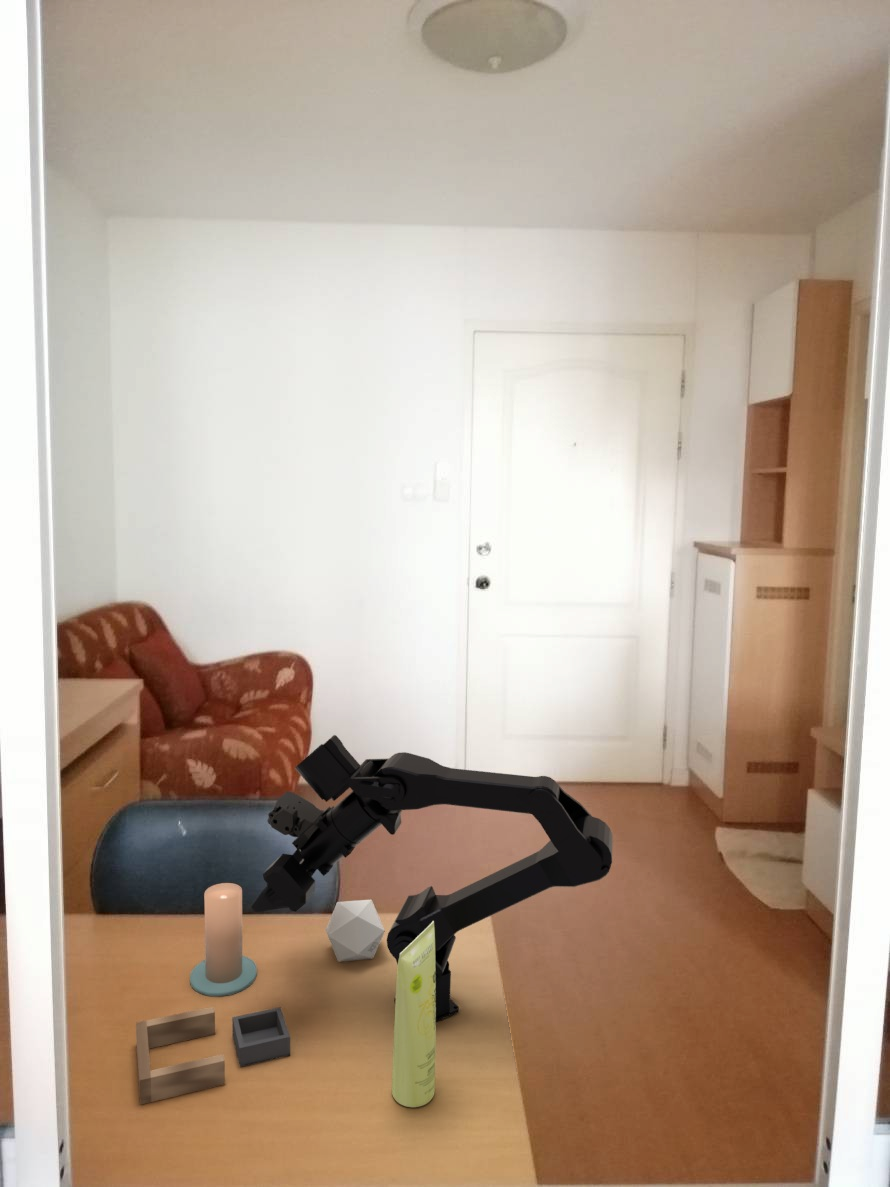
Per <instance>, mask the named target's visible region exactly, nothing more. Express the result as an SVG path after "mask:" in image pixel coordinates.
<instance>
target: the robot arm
mask: <svg viewBox="0 0 890 1187" xmlns="http://www.w3.org/2000/svg"><path fill="white" fill-rule="evenodd" d="M294 770H295V771H297V773H298V774H299V775H300V776H301V777H302V778H303V780H304V781H305V782H306V783H307V785H309V787H310V788H311V789H312V790H313V791H314V792H315V794H316V795H317V796H318V798H320V799H321V800H322V801H324V802H326V803H327V802H329V801H330V800H331V799H332V801H333V802H334V801H335V802H336V800H337V799H338V798H340V797H341V796H342V795H343V794H345V792H346V791H347V790H349V789H351V790H352V791H351V792H350V793H348V795H346V796H345V797H344V798H343V799H342V800H340V801H339V802H338V803H337V804H336V805H335V806H334V805H333V806H331V807H330V806H328V807H326V808H325V809H320V808H318V807H316V806H315V804H313V803H312V802H310V801H308V800H306V799H305V798H303V797H301V796H300V795H298V794H296V793H294V792H292V791H285V792H284V793H283V794H282V795H281V796H280V797H279V798H278V799H277V800H276V802H275V804H274V806H273V808H272V810H270V811H269V813H268V817H267V820H266V822H267V824H269V826H270V828H272V829H273V830H275V831H276V832H279V833H280V834H282V835H284V836H287V835H289V836H291V837H294V838H295V839H294V840H293V841H291V844H292V845H293V847H295V849H296V850H295V851H294V853H293V854H288V853H282V854H281V855H279V857H277V858H276V859H275V860H274V861H273V862H272V863H271V864H270V865H269V866H268V867H267V868H266V869H265V871H264V872H263V873H262V877H263V880H264V881H265V883H266V885H265V887H264V888H263V889H262V891H261V892H260V894H259V895H258V896H257V897H256V899H255V900H254V901H253V903H252V904H251V906H250V908H251V909H252V911H253V912H254V913H256V914H257V913H262V912H268V911H275V910H280V909H289V910H290V911H291V912H292V911H293V912H297V911H298V910H300V909H301V908H302V907H303V906H304V905H305V904H307V903H308V901H309V900H310V898H311V897H312V895H313V894H314V893H315V890H316V879H315V878H313V877H312V876H313V875H314V874H315V872H316V871H318V872H319V873H320V874H321V875H322V877H324V876H325V875H327V874H328V873H330V871H331V869H332V868H333V867H334V866H335V864H336V863H337V862H338V861H340V860H341V859H342V858H343V857H344V858H347V857H348V856H349V855H351V853H353V851H354V850H355V848H356V847H357V846H358V845H359V844H360V843H361V842H363V841H364V840H365V839H366V838H367V837H368V836H369V835H371V834H372V833H373V832H374V831H375V830H377V829H378V828H379V827H380V826H383V827H384V828H385V830H386V831H387V833H389V834H390V835H391V836H393V835H395V834H396V833H397V831H398V829H399V828H400V826H401V825H402V812H403V811H409V810H410V811H411V810H421V809H424V808H428V807H433V806H439V805H441V806H442V805H447V806H449V805H450V806H454V807H455V806H457V807H463V808H464V807H465V808H475V809H485V810H491V811H493V810H494V811H500V812H509V813H510V812H511V813H516V814H517V813H519V814H527V815H532V816H533V817H534V819H535V820H536V821H537V822H538V823H539V824H540V826H541V828H542V829H543V831H544V832H545V834H546V836H547V837H548V838H549V841H548V842H547V843H546V844H545V845H544V846H543V847H542V848H541V849H539V850H538V851H536V852H533V853H532V854H530V855H528V856H526V857H523V858H522V859H520V860H518V861H516V862H513V863H511V864H510V865H508V866H506V867H503V868H501V869H499V870H497V871H495V872H493V873H491V874H489V875H486V876H485V877H483V878H481V879H479V880H477V881H474V882H472V883H470V884H468V885H467V886H464V887H462V888H460V889H457V891H454V892H452V893H450V894H446V895H445V894H436V892H435V889H434V887H433V886H432V885H430V886H428V887H426V889H424V890H423V891H422V892H420V893H417V894H413V895H408V896H407V898H406V900H405V902H404V904H403V905H402V907H401V908H400V910H399V912H398V914H397V916H396V918H395V920H394V922H393V923H392V926H391V927H390V929H389V931H388V933H387V938H386V947H387V949H388V951H389V953H390V954H391V956H392V957H393V959H395V961H396V964H397V965H398V960H399V954H400V953H401V952H402V951H403V950H404V949H405V948H406V947H407V946H408V945H409V944H411V943H412V942H413V941H414V940H415V939H416V938H417V937H418V936H419V935H420V934H421V933H422V932H423V931H424V930H425V929H426V928H427V927H428V926H429V925H430V924H431V923H432V921H434V929H435V967H436V1022H438V1021H441V1020H443V1019H445V1018H447V1017H448V1018H449V1017H450V1016H453V1015H455V1014H457V1013H459V1011H460V1007H459V1005H458V1004H457V1003H455V1002H454V1000H452V999H451V983H452V982H451V979H452V975H451V974H452V971H451V970H450V963H449V958H450V955H451V952H452V950H453V947H454V944H455V942H456V939H457V937H456V934H457V933H458V932H459V931H462V930H464V929H466V928H468V927H470V926H472V925H474V924H477V923H479V922H480V921H483V920H485V919H487V918H489V917H492V916H493V915H495V914H498V913H500V912H502V911H505V910H506V909H508V908H510V907H512V906H514V905H516V904H518V903H521V902H523V901H525V900H528V899H529V898H531V897H533V896H535V895H537V894H540V893H542V892H544V891H546V890H549V889H550V888H551V889H552V888H553V887H556V888H557V887H558V888H561V887H563V888H575V887H579V886H583V885H586V884H590V883H594V882H597V881H600V880H602V879H603V878H605V877H606V876H607V875H608V874H609V873H610V870H611V867H612V863H613V848H614V846H613V845H614V844H613V843H614V840H613V838H614V837H613V836H614V835H613V832H612V831H611V828H610V826H609V825H608V824H607V823H606V822H605V821H603V820H601V818H598V817H596V816H592V814H591V813H590V812H589V811H588V810H587V809H586V807H584V806H583V805H582V803H581V802H580V801H578V800H577V799H575V798H574V797H573V796H571V795H570V794H569V793H568V792H566V791H564V789H563V788H562V787H561V786H560V785H559V784H558V783H557V781H556V780H555V779H553V778H552V777H550V776H547V775H539V776H530V775H522V774H521V775H520V774H512V773H502V772H492V771H491V772H490V771H482V770H474V769H473V770H471V769H464V768H463V769H462V768H453V767H449V766H448V767H447V766H444V765H442V764H439V763H438V762H436V761H434V760H433V759H431V758H428V757H425V756H420V755H417V754H413V753H411V752H405V751H404V752H403V751H401V752H397V753H394V754H393V755H391V756H389V758H366V759H364V761H363V762H362V763H359V762H358V761H357V759H356V758H355V757H354V756H353V755H352V754H351V753H350V752H349V751H348V749H347V748H346V747H345V745H344V743H343V742H342V740H340V738H339V737H338V736H337V735H336V734H334V735H332V736H331V737H330V738H329V739H328V740H326V742H324V743H321V744H320V745H319V746H317V748H316V749H314V750H313V751H311V753H310V754H309V755H307V756H306V757H305V758H304V759H302V761H301V762H299V763H298V764H297V765H296V766H295V767H294ZM395 1002H396V997H394V1000H393V1003H394V1004H395Z"/></svg>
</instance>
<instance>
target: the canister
mask: <svg viewBox="0 0 890 1187" xmlns="http://www.w3.org/2000/svg"><path fill="white" fill-rule="evenodd" d="M203 896H204V897H203V898H204V960H205V976H206V978H207V979H208V980H209V981H211V982H213V983H228V982H231V981H233V980H235V979H237V978H238V977H240V975H241V974H242V955H243V888H242V887H241V886H240V885H238V884H236V883H232V882H231V883H230V882H221V883H217V884H213V885H211V886H209V887H207V889H206V890H205V891H204V894H203Z"/></svg>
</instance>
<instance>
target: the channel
mask: <svg viewBox="0 0 890 1187" xmlns="http://www.w3.org/2000/svg"><path fill="white" fill-rule="evenodd" d="M135 1029H136V1030H135V1031H136V1032H135V1034H136V1035H135V1036H136V1054H137V1055H136V1056H137V1075H138V1076H137V1077H138V1092H139V1106H141V1105H145V1104H150V1103H154V1102H157V1101H162V1100H165V1099H170V1098H175V1097H178V1096H182V1095H186V1094H190V1093H191V1094H192V1093H195V1092H199V1091H202V1090H203V1091H204V1090H206V1089H207V1090H208V1089H210V1088H214V1087H216V1088H217V1087H219V1086H223V1085H226V1076H225V1075H226V1068H225V1067H226V1063H225V1061H226V1060H225V1055H224V1053H222V1054H221V1053H220V1054H217V1055H212V1056H208V1057H204V1058H200V1059H195V1060H191V1061H185V1062H181V1063H177V1064H173V1065H170V1066H163V1067H160V1068H155V1069H152V1070H151V1063H150V1060H151V1059H150V1049H154V1048H158V1047H162V1046H167V1045H172V1044H176V1043H181V1042H185V1041H190V1040H194V1039H195V1040H196V1039H199V1038H204V1037H208V1036H212V1035H213V1036H214V1035H216V1012H215V1006H210V1007H205V1008H200V1009H194V1010H190V1011H186V1012H180V1013H177V1014H175V1013H174V1014H172V1015H166V1016H162V1017H161V1016H160V1017H156V1018H151V1019H146V1020H143V1021H137V1022H136V1023H135Z"/></svg>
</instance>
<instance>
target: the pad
mask: <svg viewBox="0 0 890 1187" xmlns="http://www.w3.org/2000/svg"><path fill="white" fill-rule="evenodd" d="M257 968H258V967H257V965H256V962H255V961H254V960H252V959H251V958H250V957H248V956H246V955H243V954H242V974H241V975H240V977H238V978H237V979H235V980H233V981H231V982H228V983H213V982H211V981H209V980H208V979H207V978H206V976H205V959H204V960H202V961H200V962H199V963H198V964H197V965H195V966H194V967H193V968H192V970H191V972H190V975H189V984H190V986H191V988H192V989H193V990H194V991H195V992H197V993H198V994H200V995H203V996H208V997H227V996H231V995H235V994H237V993H239V992H240V993H241V992H242V991H244V990H246V989H247V988H249V987H250V986H251V985H252V984H253V983H254V982H255V980H256V978H257V976H258V973H257V972H258V969H257Z"/></svg>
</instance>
